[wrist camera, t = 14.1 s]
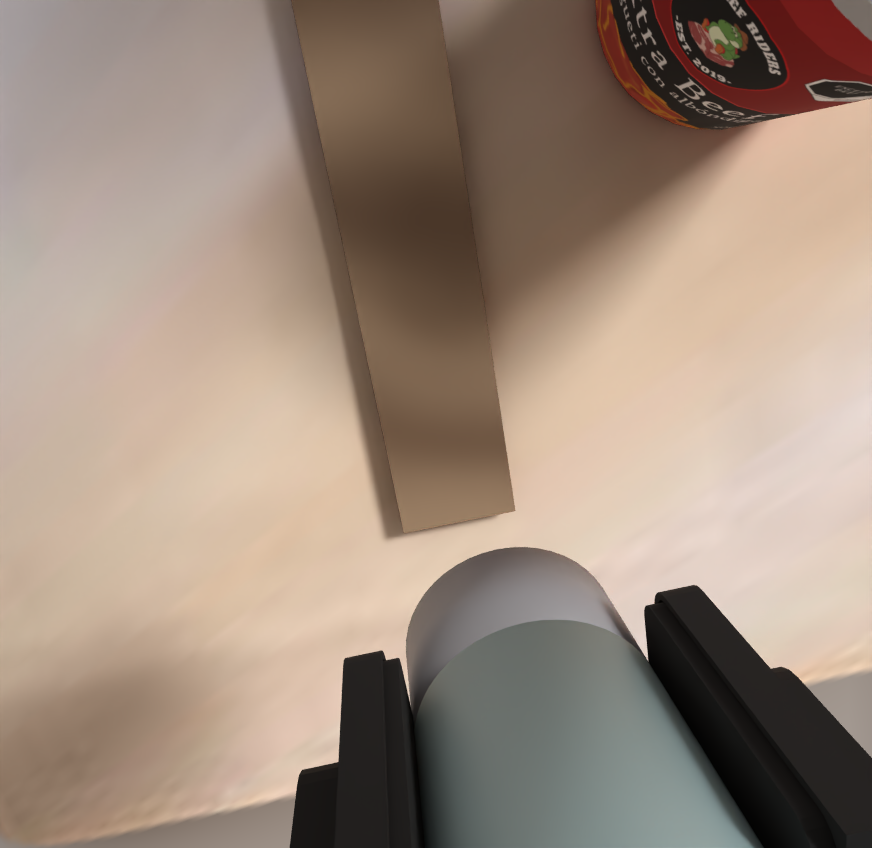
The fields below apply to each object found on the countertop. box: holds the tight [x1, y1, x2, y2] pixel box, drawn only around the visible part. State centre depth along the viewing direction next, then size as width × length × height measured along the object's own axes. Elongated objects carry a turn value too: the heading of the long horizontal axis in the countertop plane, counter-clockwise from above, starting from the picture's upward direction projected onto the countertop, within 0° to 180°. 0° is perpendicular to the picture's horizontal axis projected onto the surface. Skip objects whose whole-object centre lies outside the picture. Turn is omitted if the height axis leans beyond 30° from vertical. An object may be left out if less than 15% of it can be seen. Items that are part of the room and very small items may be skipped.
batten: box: [291, 0, 515, 533], centre depth 21 cm, size 22×4×1 cm, turn 10°
